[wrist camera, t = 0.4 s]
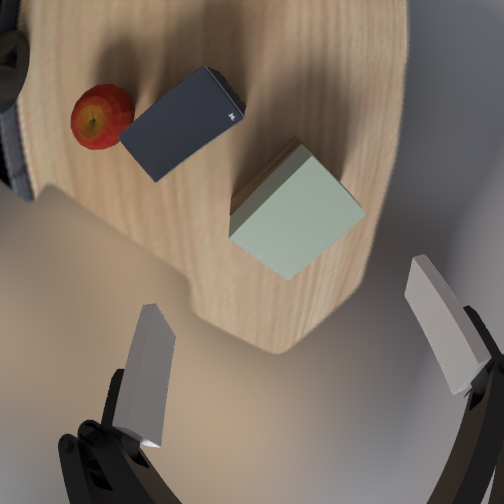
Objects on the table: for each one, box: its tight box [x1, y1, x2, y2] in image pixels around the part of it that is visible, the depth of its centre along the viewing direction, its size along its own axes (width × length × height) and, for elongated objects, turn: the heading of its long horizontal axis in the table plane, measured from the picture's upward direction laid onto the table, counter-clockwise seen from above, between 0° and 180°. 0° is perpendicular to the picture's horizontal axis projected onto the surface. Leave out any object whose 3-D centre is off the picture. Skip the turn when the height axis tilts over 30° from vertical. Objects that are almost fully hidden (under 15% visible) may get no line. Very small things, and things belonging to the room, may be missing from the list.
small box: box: [118, 66, 246, 183], centre depth 26 cm, size 11×6×10 cm, turn 124°
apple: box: [71, 84, 135, 150], centre depth 26 cm, size 8×8×8 cm
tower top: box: [228, 144, 366, 281], centre depth 30 cm, size 9×12×5 cm
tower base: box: [230, 136, 320, 216], centre depth 35 cm, size 9×12×5 cm
